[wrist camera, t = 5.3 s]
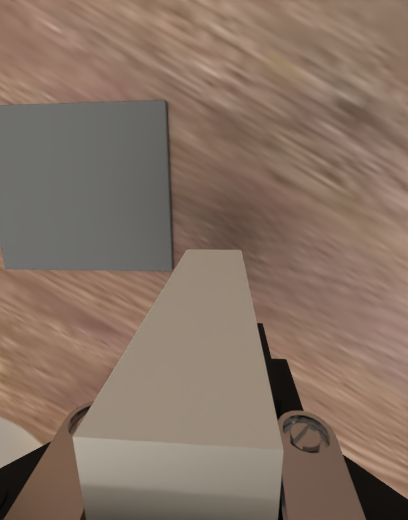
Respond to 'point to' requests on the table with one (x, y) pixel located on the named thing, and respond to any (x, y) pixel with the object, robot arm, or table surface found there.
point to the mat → (85, 186)
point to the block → (186, 408)
